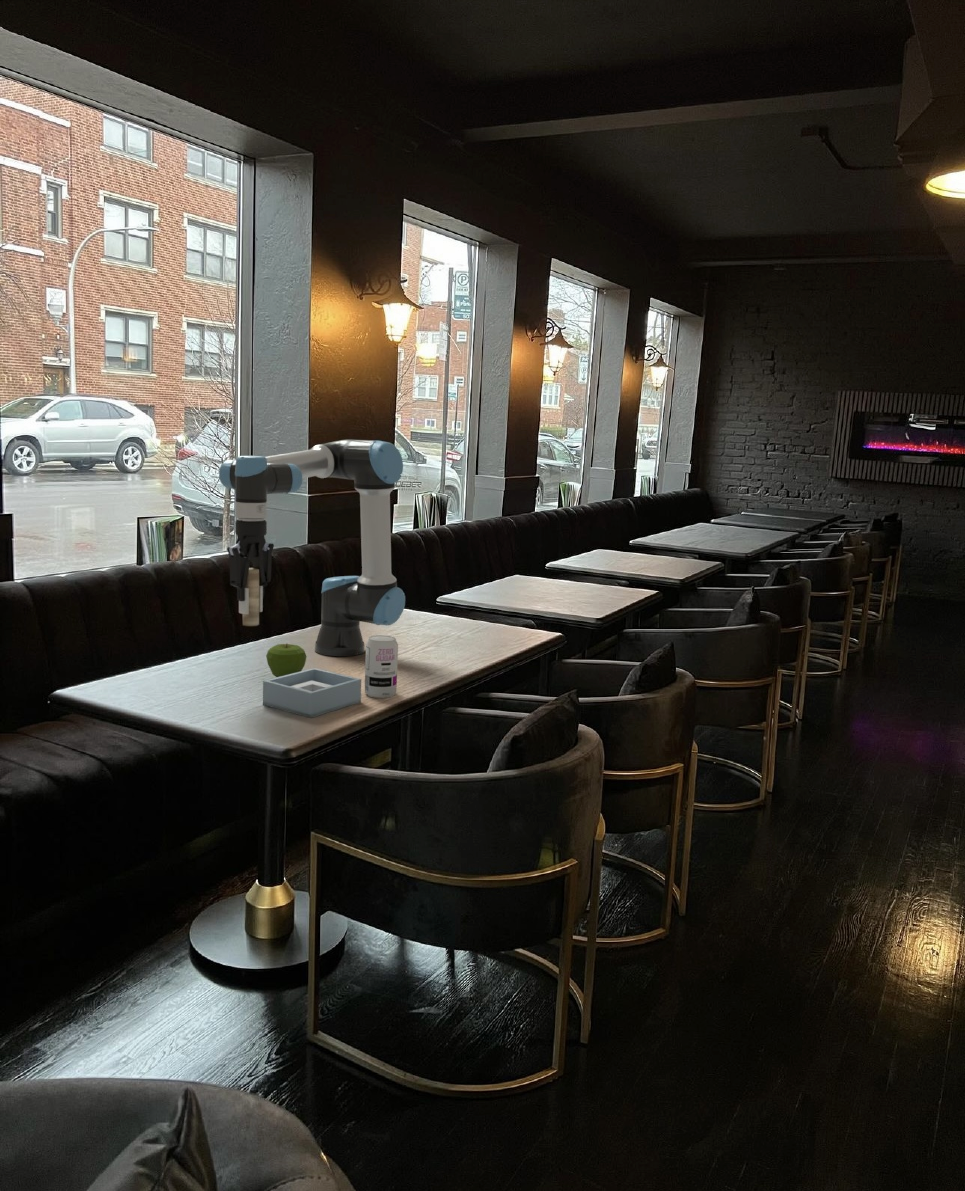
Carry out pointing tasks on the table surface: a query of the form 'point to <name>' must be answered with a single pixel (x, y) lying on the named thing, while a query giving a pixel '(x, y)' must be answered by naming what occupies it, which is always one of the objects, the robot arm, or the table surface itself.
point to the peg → (252, 598)
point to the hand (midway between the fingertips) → (250, 612)
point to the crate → (311, 692)
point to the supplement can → (381, 666)
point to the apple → (286, 659)
